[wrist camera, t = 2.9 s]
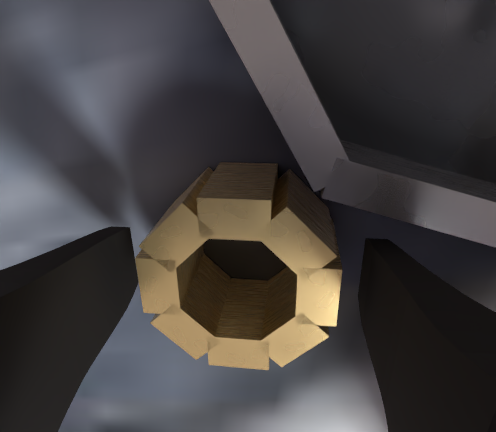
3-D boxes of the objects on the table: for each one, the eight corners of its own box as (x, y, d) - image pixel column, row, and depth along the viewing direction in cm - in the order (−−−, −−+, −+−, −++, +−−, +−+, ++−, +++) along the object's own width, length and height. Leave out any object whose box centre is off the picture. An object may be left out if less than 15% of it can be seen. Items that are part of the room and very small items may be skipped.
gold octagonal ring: (250, 328, 14) (239, 394, 12) (141, 234, 13) (100, 283, 11) (365, 245, 12) (384, 302, 10) (248, 126, 11) (232, 153, 8)
